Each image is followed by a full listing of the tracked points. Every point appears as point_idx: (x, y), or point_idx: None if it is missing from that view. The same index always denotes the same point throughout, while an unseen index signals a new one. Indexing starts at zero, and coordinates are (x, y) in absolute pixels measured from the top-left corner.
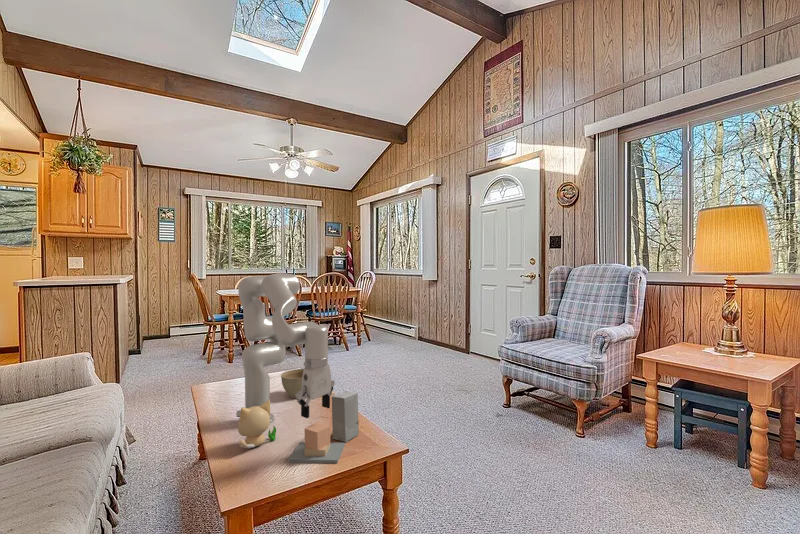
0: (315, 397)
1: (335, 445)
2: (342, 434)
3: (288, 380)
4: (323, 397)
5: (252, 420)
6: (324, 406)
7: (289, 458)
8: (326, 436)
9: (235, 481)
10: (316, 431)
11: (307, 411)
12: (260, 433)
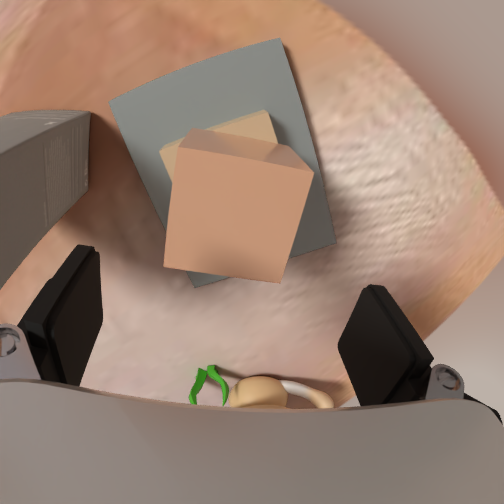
0: (447, 411)
1: (151, 123)
2: (76, 135)
3: None
4: (73, 378)
5: None
6: (99, 298)
7: (328, 244)
8: (221, 141)
9: (439, 299)
10: (300, 187)
11: (405, 326)
12: (274, 405)
